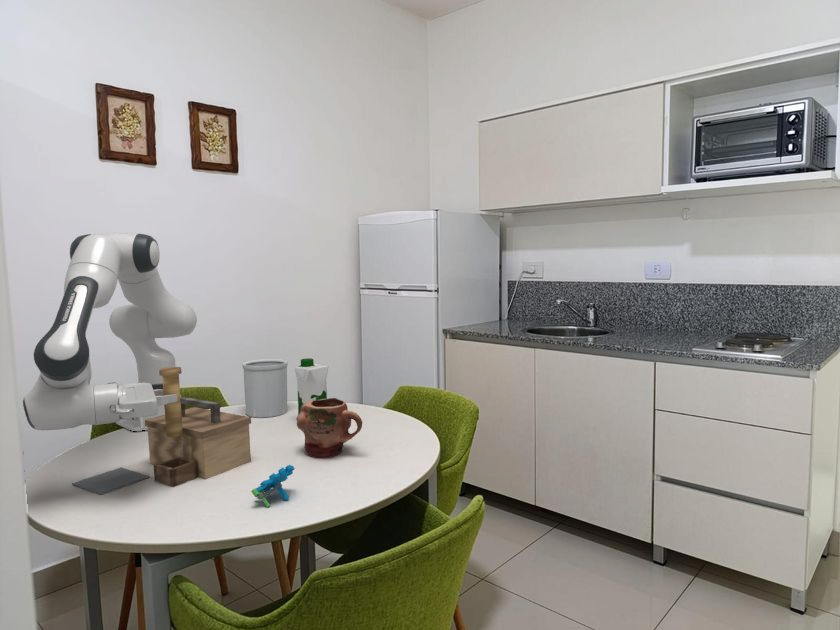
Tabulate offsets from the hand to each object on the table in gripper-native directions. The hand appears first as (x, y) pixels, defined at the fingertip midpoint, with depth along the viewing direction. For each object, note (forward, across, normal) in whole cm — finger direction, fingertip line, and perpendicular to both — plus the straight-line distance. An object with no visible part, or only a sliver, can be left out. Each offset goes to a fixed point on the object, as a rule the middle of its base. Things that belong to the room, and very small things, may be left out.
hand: (175, 395), depth 138 cm
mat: (-15, +7, +20) cm, 26 cm away
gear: (+16, -24, +20) cm, 35 cm away
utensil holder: (+33, +50, +21) cm, 64 cm away
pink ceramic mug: (+37, -2, +21) cm, 42 cm away
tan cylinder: (-1, 0, +10) cm, 10 cm away
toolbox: (+3, +8, +20) cm, 22 cm away
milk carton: (+43, +31, +21) cm, 57 cm away
